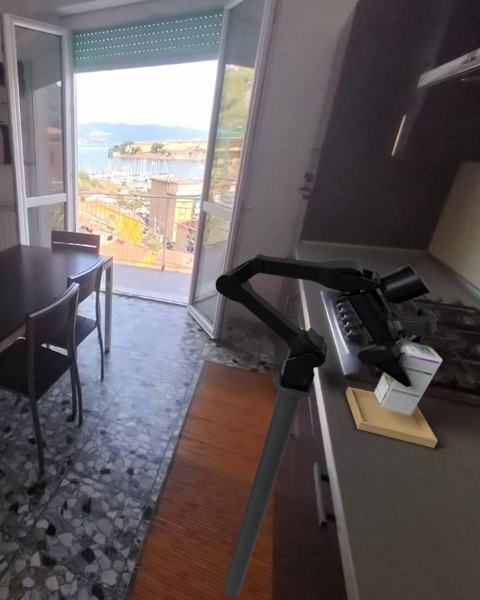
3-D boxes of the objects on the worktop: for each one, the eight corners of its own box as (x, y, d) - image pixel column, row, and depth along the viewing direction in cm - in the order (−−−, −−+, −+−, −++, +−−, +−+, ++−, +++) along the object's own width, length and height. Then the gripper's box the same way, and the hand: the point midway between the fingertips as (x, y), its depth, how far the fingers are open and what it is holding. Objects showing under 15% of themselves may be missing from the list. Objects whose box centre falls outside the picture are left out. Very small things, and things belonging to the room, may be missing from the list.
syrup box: (411, 416, 76) (446, 360, 70) (378, 407, 78) (409, 351, 72) (402, 400, 80) (433, 346, 74) (371, 392, 83) (399, 338, 76)
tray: (357, 429, 79) (360, 422, 78) (345, 393, 90) (347, 386, 89) (434, 448, 74) (438, 441, 73) (411, 407, 85) (414, 400, 84)
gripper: (398, 310, 67) (450, 389, 63) (431, 288, 76) (478, 355, 73) (339, 329, 76) (381, 398, 73) (375, 307, 85) (414, 367, 82)
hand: (415, 379), depth 75 cm, fingers closed on syrup box, 7 cm apart
